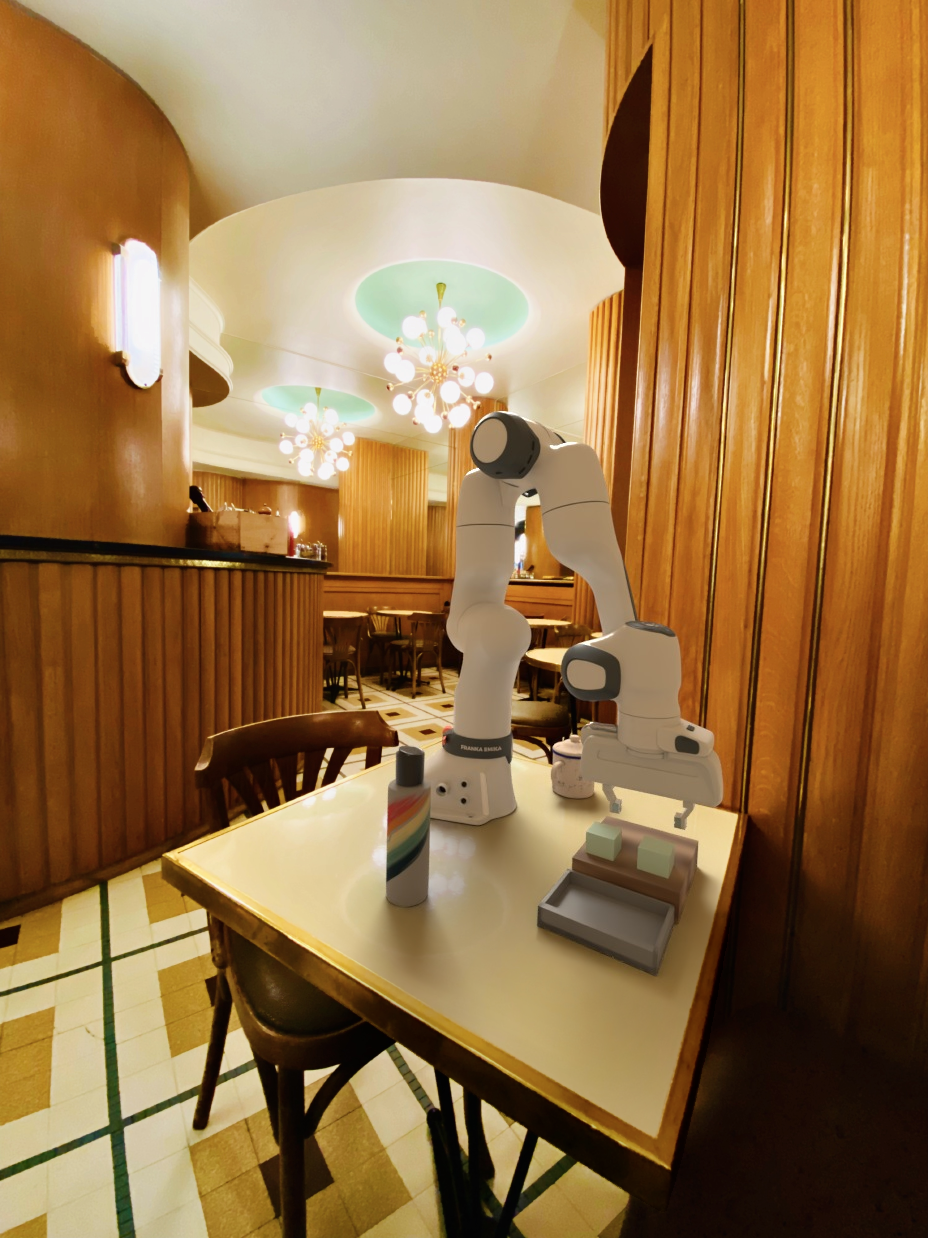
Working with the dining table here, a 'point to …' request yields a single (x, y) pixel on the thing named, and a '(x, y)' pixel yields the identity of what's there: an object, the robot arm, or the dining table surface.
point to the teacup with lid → (569, 770)
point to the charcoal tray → (608, 919)
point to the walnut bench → (638, 880)
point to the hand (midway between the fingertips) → (646, 819)
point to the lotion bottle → (408, 830)
